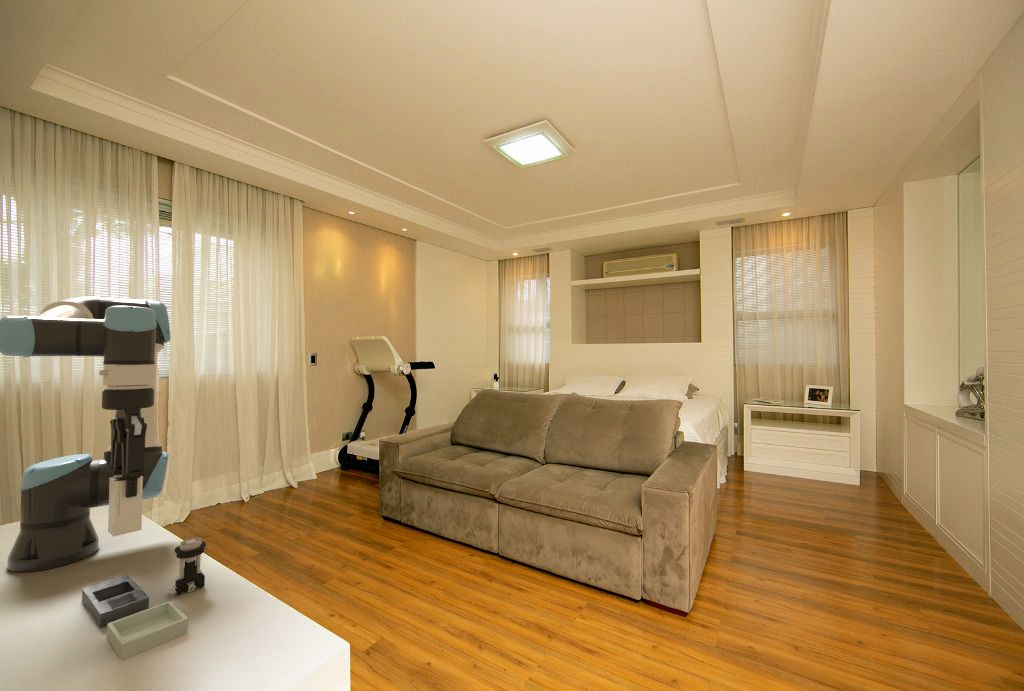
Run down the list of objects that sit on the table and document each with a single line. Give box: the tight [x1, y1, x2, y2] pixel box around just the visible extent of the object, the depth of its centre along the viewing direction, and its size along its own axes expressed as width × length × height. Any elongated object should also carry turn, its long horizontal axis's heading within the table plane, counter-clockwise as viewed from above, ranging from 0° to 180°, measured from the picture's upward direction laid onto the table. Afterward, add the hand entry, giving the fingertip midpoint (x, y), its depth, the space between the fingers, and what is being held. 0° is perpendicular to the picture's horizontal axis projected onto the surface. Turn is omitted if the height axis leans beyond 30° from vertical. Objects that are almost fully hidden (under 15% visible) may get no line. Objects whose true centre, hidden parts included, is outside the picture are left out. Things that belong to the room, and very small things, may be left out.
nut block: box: [107, 476, 143, 537], centre depth 84 cm, size 4×4×10 cm
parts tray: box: [106, 600, 189, 661], centre depth 78 cm, size 9×9×2 cm
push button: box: [165, 537, 207, 597], centre depth 92 cm, size 7×5×10 cm
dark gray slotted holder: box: [81, 574, 150, 629], centre depth 86 cm, size 14×7×3 cm, turn 54°
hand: (125, 511), depth 84 cm, fingers closed on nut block, 4 cm apart
